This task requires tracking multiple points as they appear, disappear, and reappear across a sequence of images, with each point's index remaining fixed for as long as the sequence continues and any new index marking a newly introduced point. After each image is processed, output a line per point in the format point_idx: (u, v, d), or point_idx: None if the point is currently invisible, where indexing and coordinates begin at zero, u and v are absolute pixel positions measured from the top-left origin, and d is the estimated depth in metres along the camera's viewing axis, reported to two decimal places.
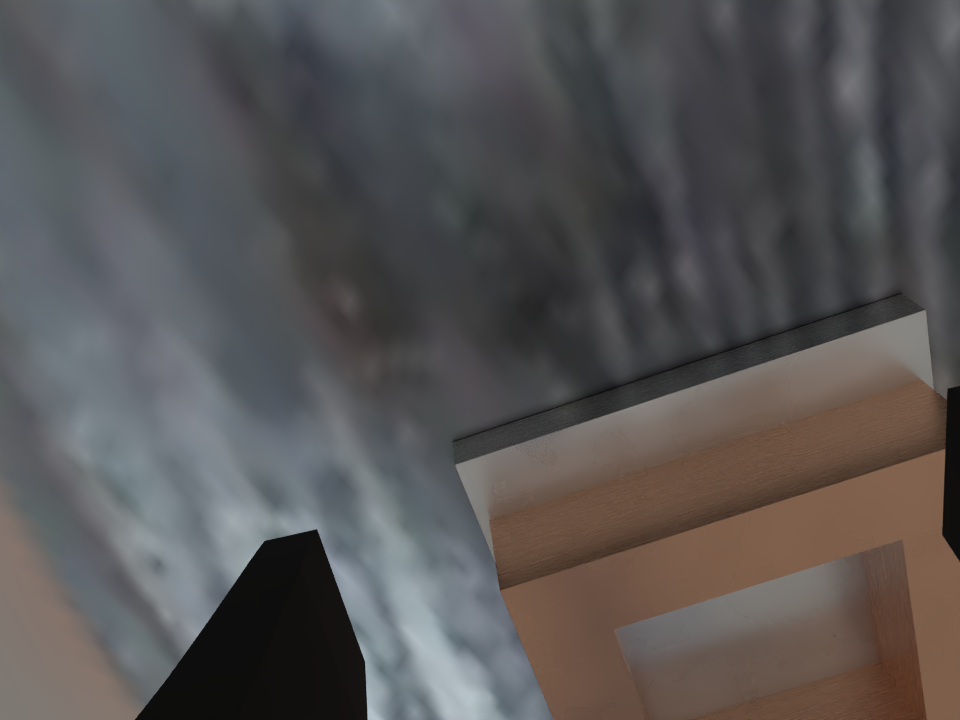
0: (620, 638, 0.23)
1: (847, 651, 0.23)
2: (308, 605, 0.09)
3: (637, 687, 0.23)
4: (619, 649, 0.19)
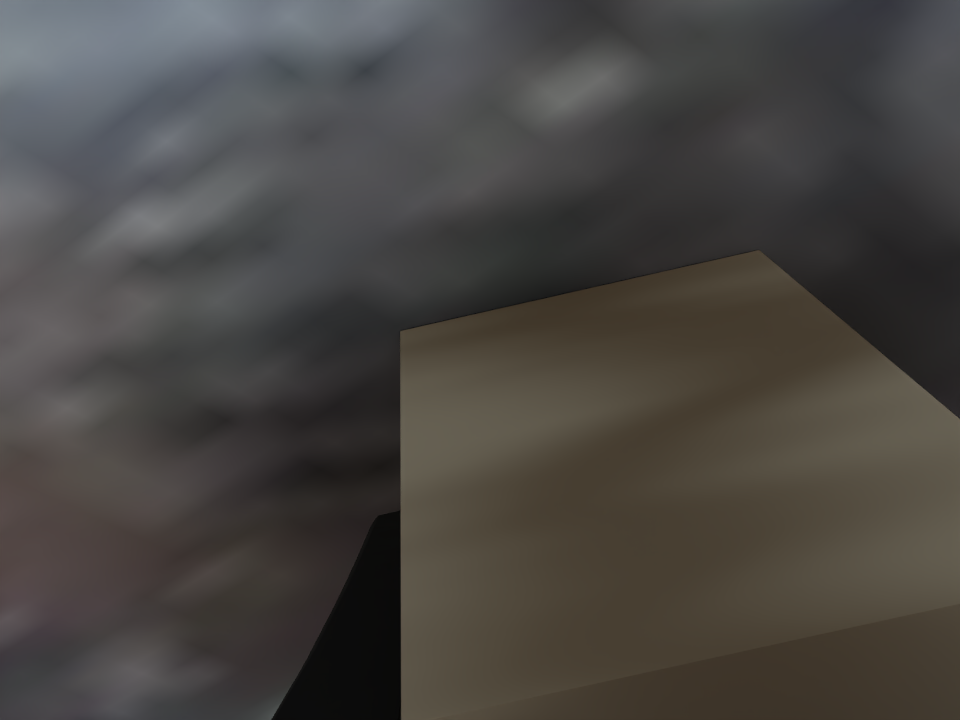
0: None
1: None
2: None
3: None
4: None
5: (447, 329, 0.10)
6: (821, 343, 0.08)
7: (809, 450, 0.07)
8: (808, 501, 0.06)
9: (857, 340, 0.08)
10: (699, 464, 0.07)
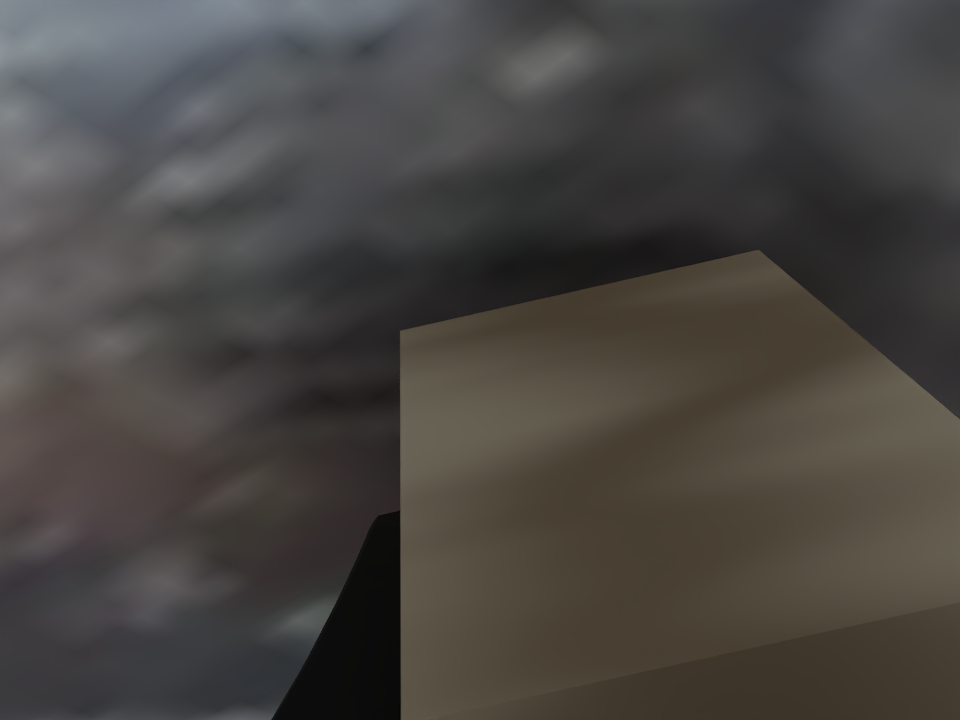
0: None
1: None
2: None
3: None
4: None
5: (447, 329, 0.10)
6: (820, 343, 0.08)
7: (807, 449, 0.07)
8: (806, 501, 0.06)
9: (856, 340, 0.08)
10: (699, 462, 0.07)
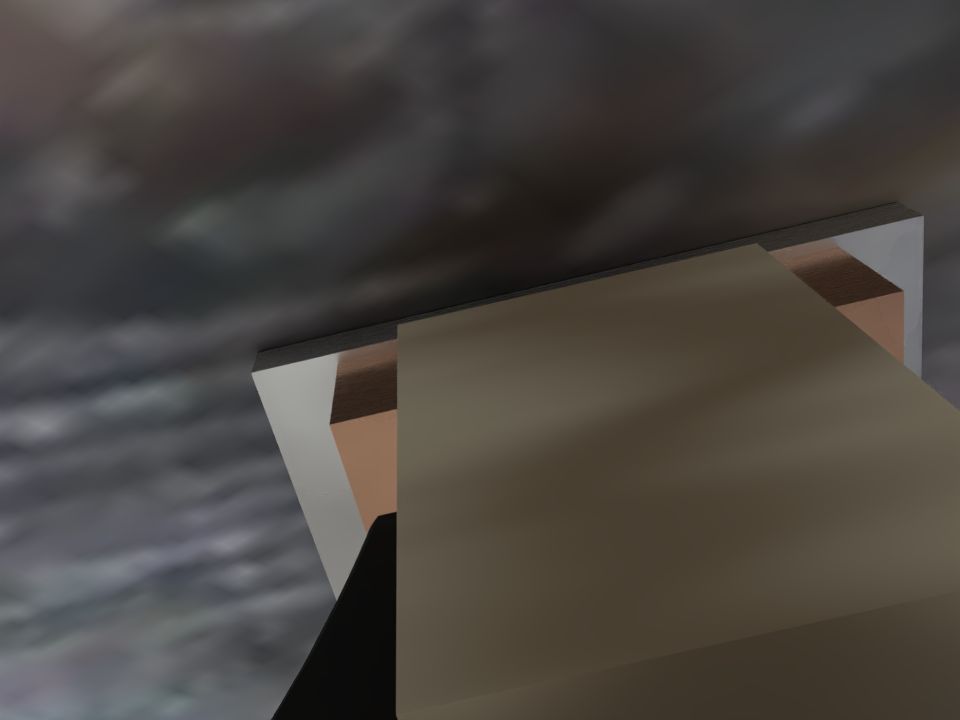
0: None
1: None
2: None
3: None
4: None
5: (444, 323, 0.10)
6: (818, 335, 0.08)
7: (806, 441, 0.07)
8: (805, 491, 0.06)
9: (855, 332, 0.08)
10: (696, 454, 0.07)
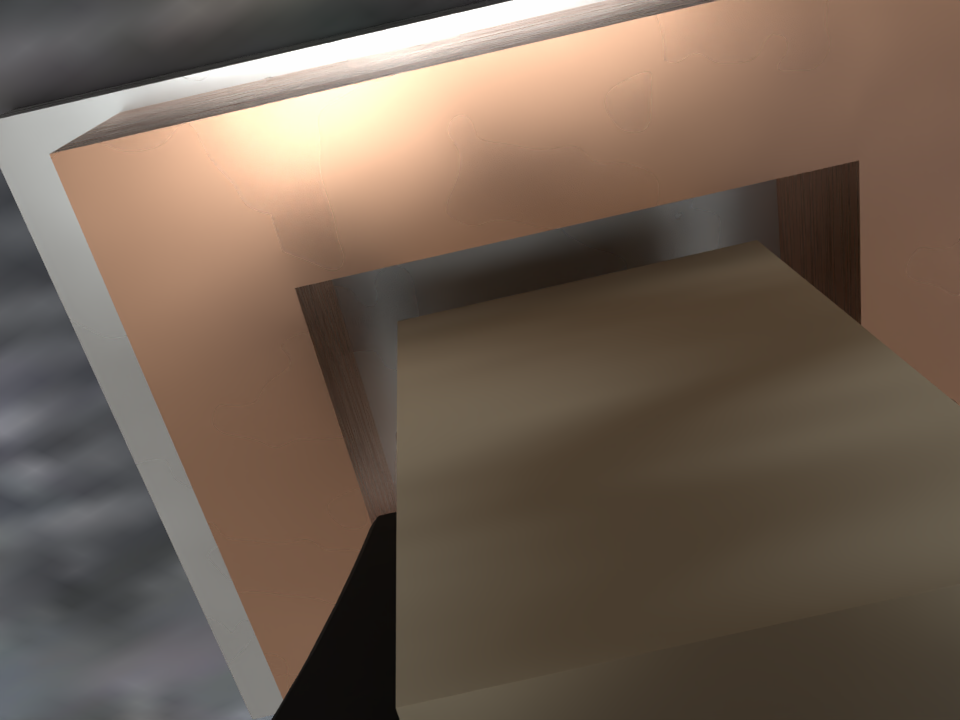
0: None
1: None
2: None
3: None
4: None
5: (444, 319, 0.10)
6: (818, 330, 0.08)
7: (805, 435, 0.07)
8: (804, 485, 0.06)
9: (855, 328, 0.08)
10: (696, 449, 0.07)
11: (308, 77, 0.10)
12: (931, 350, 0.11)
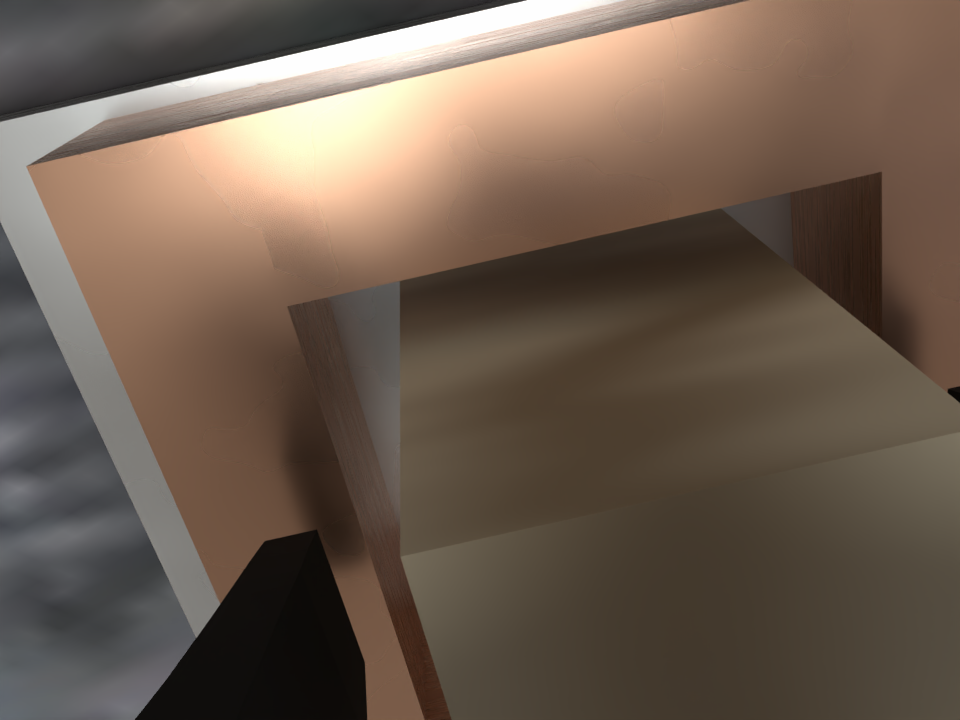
0: None
1: None
2: (308, 605, 0.09)
3: None
4: None
5: (441, 278, 0.12)
6: (764, 278, 0.10)
7: (743, 357, 0.08)
8: (738, 394, 0.08)
9: (795, 275, 0.09)
10: (653, 369, 0.08)
11: (301, 84, 0.10)
12: (955, 369, 0.10)
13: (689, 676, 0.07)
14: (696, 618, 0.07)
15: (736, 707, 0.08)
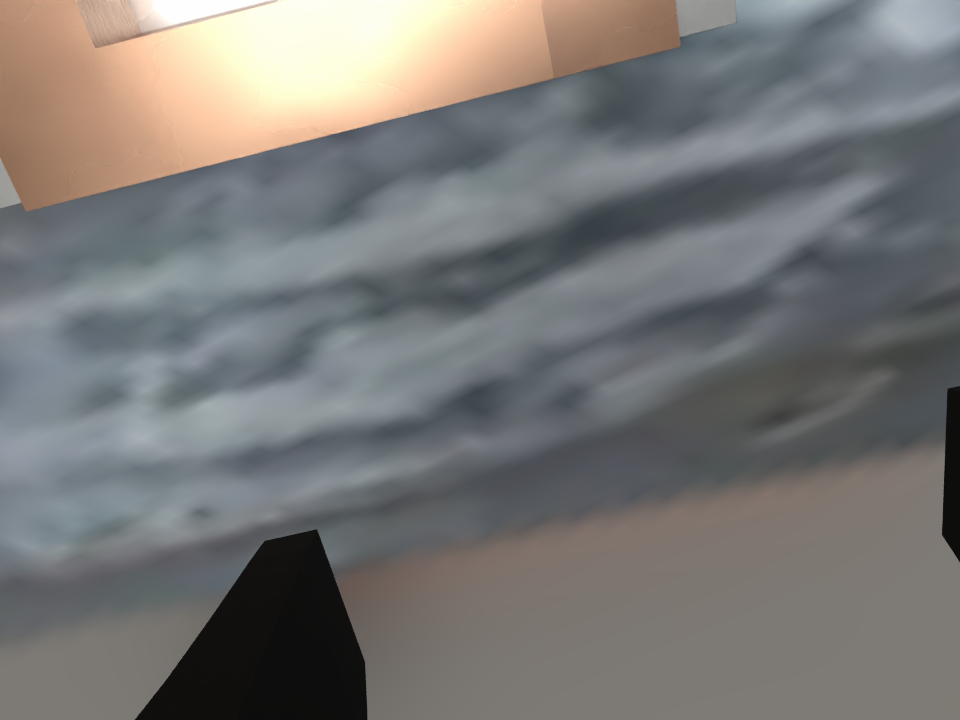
0: None
1: None
2: (308, 605, 0.09)
3: None
4: (135, 40, 0.13)
5: None
6: None
7: None
8: None
9: None
10: None
11: None
12: None
13: None
14: None
15: None
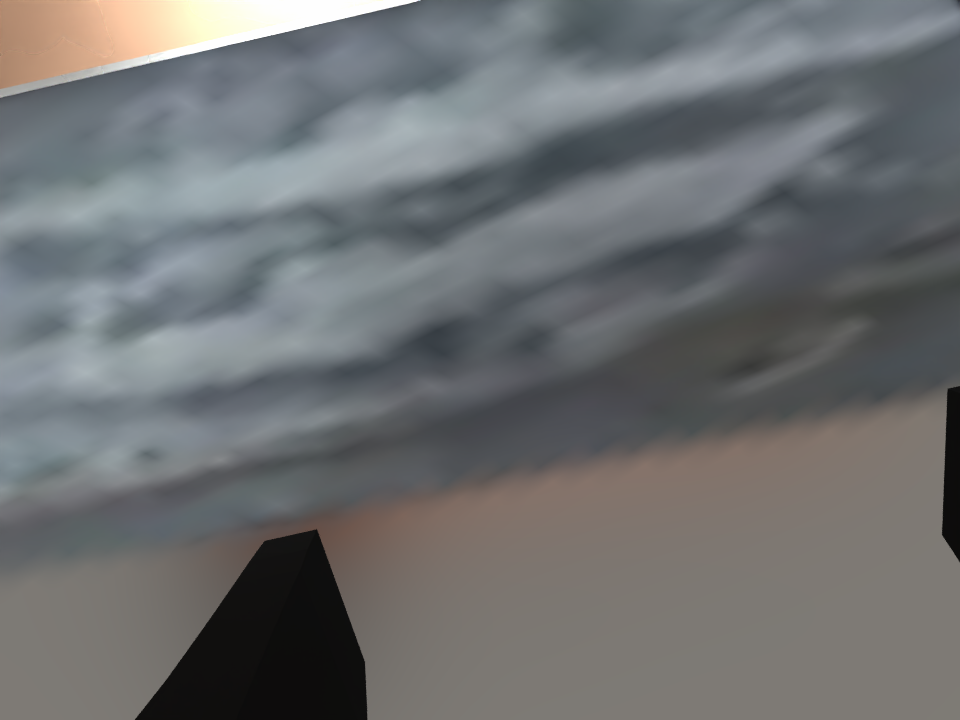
0: None
1: None
2: (308, 605, 0.09)
3: None
4: None
5: None
6: None
7: None
8: None
9: None
10: None
11: None
12: None
13: None
14: None
15: None
